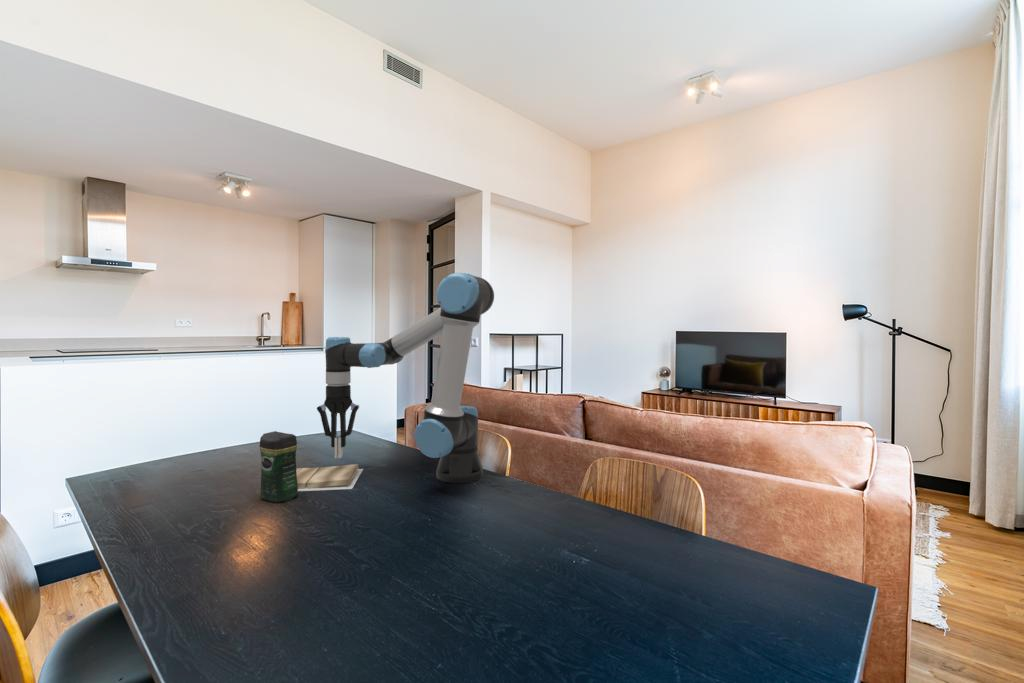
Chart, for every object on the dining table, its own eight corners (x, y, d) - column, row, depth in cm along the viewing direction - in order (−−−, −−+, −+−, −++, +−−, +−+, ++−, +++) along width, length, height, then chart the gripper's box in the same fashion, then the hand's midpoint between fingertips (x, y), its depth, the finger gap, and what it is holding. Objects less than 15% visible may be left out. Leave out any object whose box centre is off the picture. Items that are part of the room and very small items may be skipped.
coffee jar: (303, 495, 133) (302, 431, 132) (278, 505, 126) (276, 438, 125) (281, 489, 137) (279, 427, 136) (255, 499, 130) (254, 433, 129)
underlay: (363, 469, 158) (363, 468, 158) (352, 489, 138) (352, 488, 138) (285, 472, 155) (285, 471, 155) (262, 493, 135) (262, 492, 135)
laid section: (319, 472, 154) (319, 467, 154) (305, 488, 138) (305, 483, 138) (284, 473, 153) (284, 468, 153) (265, 490, 137) (265, 484, 137)
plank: (358, 468, 156) (358, 464, 156) (348, 484, 140) (348, 479, 140) (320, 472, 154) (320, 467, 154) (307, 488, 138) (306, 483, 138)
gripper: (361, 383, 155) (362, 453, 156) (319, 383, 153) (320, 454, 154) (357, 385, 148) (358, 459, 148) (313, 386, 146) (313, 461, 146)
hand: (338, 456), depth 151 cm, fingers closed
